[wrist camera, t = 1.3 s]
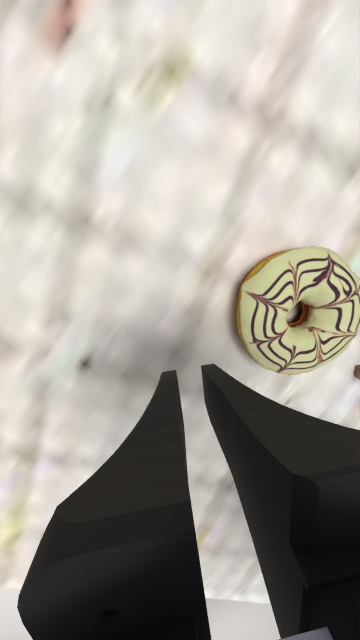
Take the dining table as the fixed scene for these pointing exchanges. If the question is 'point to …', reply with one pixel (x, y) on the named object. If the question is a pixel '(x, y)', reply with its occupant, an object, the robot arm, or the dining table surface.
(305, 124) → the dining table surface
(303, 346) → the decorated donut
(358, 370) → the walnut frame
